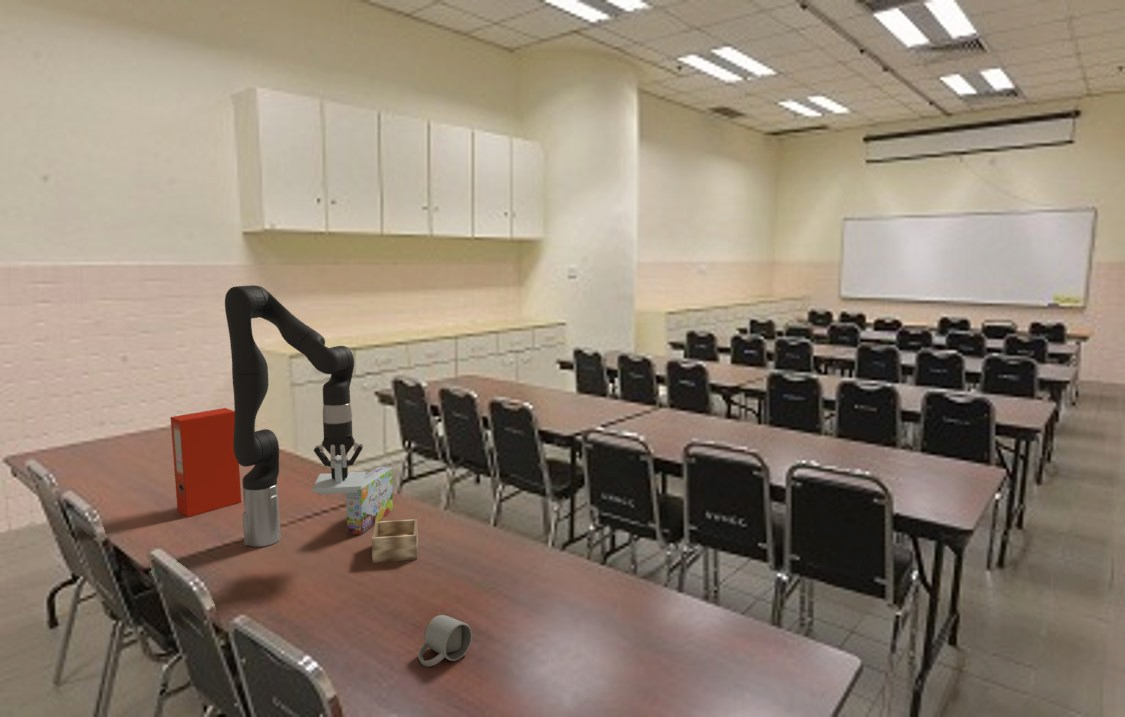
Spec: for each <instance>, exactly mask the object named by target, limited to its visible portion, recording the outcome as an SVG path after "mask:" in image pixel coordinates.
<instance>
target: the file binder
mask: <svg viewBox="0 0 1125 717" xmlns="http://www.w3.org/2000/svg"><path fill="white" fill-rule="evenodd" d="M169 419H170V429H171V430H170V431H171V441H172V454H173V455H172V456H173V465H174V466H173V467H174V480H175V494H176V506H177V507H176V508H177V512H178V513H180V514H182V515H183V516H185V517H186V518H190V516H191V517H194V516H198V515H201V514H205V513H209V512H212V511H215V509H216V510H218V509H219V508H220V509H222V507H223V508H226V506H227V507H230V506H233V504H234V505H237V504H241V503H242V492H241V491H242V490H241V489H242V488H241V475H240V464H239V463H238V462H237V460H236V458H235V454H234V447H233V440H234V419H235V410H233V409H229V408H226V407H222V408H217V409H210V410H205V411H198V412H194V413H186V414H180V415H175V416H174V415H173V416H170V417H169ZM240 502H241V503H240ZM211 510H212V511H211Z"/></svg>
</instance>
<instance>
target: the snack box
mask: <svg viewBox="0 0 1125 717" xmlns="http://www.w3.org/2000/svg"><path fill="white" fill-rule="evenodd" d="M345 494H346V533H347V534H353V535H359V536H361V535H363V534H364V533H365V532H367V531H368V530H370V529H371V528H372V527H373V526H375V522H379V521H382V519H383V518H384V517H386V516H387V515H388V514H390V513H391V512H393V508H394V506H393V502H394V501H393V467H386V466H385V467H384V466H377V467H376V468H374V469H373V470H371V471H369V472H368V473H366V476H365V479H364V482H363V486H362V489H361V490H357V493H345Z"/></svg>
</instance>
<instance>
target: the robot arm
mask: <svg viewBox="0 0 1125 717" xmlns="http://www.w3.org/2000/svg"><path fill="white" fill-rule="evenodd" d="M224 309H225V317H226V322H227V328H228V329H227V330H228V334H229V340H230V353H231V375H232V387H233V388H232V390H233V402H234V404H233V405H234V407H233V408H234V411H235V419H234V440H233V447H234V454H235V458H236V460H237V462H238V463H239V466H242V467H245V468H247V467H251V466H252V467H253V468H251V470H250V471H248V472H247V473H246V474H244V476H243V478H242V490H243V491H242V493H243V510H244V512H243V513H242V528H243V543H244V546H249V547H255V548H256V547H257V548H259V547H260V548H261V547H266V546H270V545H274V544H276V543H277V542H279V541H280V540H281V524H280V523H281V521H280V507H279V505H280V504H279V493H278V492H279V491H278V490H279V488H278V476H279V474H280V445H279V441H278V438H277V435H276V433H275V432H274V431H272V430H270V429H267V428H264V429H260V430H256V419H257V415H258V412H259V410H260V408H261V406H262V404H263V402H264V400H265V398H266V395H267V393H268V390H269V369H268V368H269V367H268V363H267V360H266V358H265V357H264V354H263V353H262V351H261V349H260V348H259V347H258V344H256V341H255V339H254V336H253V330H252V329H253V328H252V327H253V326H252V319H257V318H259V319H264V320H265V321H268V322H269V323H271V324H273V325H274V326H275V327H276V329H277V330H278V331H279V333H280V335H281V338H282V339H283V340H284V341H285V342H286V343H287V344H288V345H289V346H291V347H292V348H293V349H295V350H296V351H298V352H299V353H301V354H302V355H304V356H305V358H306V359H307V361H308V362H310V364H311V365H312V366H313V367H314V368H315V369H316V370H317V371H318V372H320V373H321V374H325V375H330V378H329V380H328V381H326V382H325V383H324V384H323V386H322V404H323V405H322V426H323V439H322V442H321V443H320V444H319V445H316V446H315V447H314V448H313V452H314V454H315V455H316V456H317V458H318V460H320V461H321V463H322V464H323V465H324V467H329V468H330V470H331V475H332V479H334V481H335V462H336V460H337V458H338V457H337V456H340V458H341V459H342V480H345V479H346V478H347V476H348V472H349V470H348V469H349V468H348V467H349V466H354V463H355V462H356V460H357V458H358V457H359V455H360V453H361V452H362V450H363V447H364V445H363V444H362V443H357V442H355V441H356V440H355V438H354V436H353V412H352V406H351V391H350V390H351V389H350V387H351V382H352V378H353V374H354V370H355V368H354V367H355V358H354V355H353V354H354V353H353V351H352V350H351V349H350V348H349V347H348V346H345V345H337V346H332V347H328V346H326V340H325V338H324V336H323V335H322V334H320V333H319V332H318V331H316V330H315V329H314V328H312V327H310V326H309V325H308V324H306V323H304V322H303V321H301V320H300V319H299V318H297V317H296V316H295V315H294V314H292V312H290V310H288V309H287V308H286V307H285V306H284V305H283V304H282V303H281V302H280V301H279V300H278V299H277V298H276V296H275V297H274V295H273V294H272V293H271V292H270V291H268V290H267V289H266V288H264V287H262V286H260V285H253V284H252V285H251V284H250V285H238V286H232V287H230V288H229V289H228V290H227V291H226V293H225V297H224ZM352 448H353V451H354V453H353V454H352V455H351V457H350V459H348V456H349V455H348V453H349V452H350V450H351V449H352ZM325 450H326V451H327V453H328V454H329V455H330V459H329V458H328V456H327V455H326V453H325V452H324V451H325Z"/></svg>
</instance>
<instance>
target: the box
mask: <svg viewBox="0 0 1125 717" xmlns="http://www.w3.org/2000/svg"><path fill="white" fill-rule="evenodd" d="M418 522H419V520H418V519H417V518H416V519H415V518H414V519H413V518H412V519H399V520H396V519H395V520H383V521H382V520H379V521H378V522H375V524H374V525H373V526H374V527H373V531H372V536H371V554H372V564H373V563H374V564H375V563H385V562H399V561H412V560H413V561H414V560H415V561H416V560H418V549H419V548H418V547H419V533H418V530H419V529H418V528H419V527H418V526H419V525H418V524H419V523H418ZM403 534H408V535H403Z"/></svg>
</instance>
